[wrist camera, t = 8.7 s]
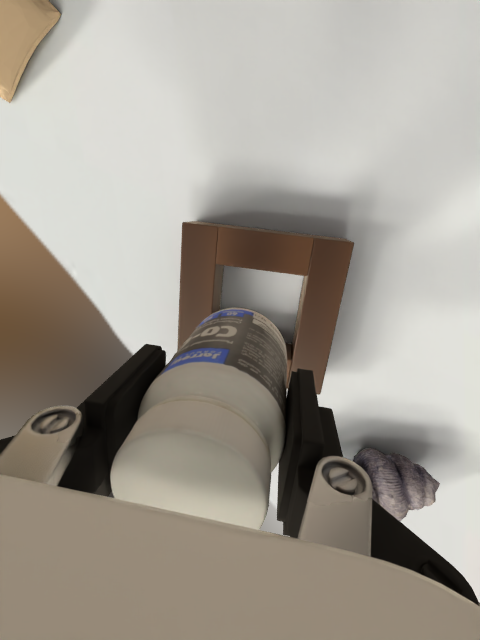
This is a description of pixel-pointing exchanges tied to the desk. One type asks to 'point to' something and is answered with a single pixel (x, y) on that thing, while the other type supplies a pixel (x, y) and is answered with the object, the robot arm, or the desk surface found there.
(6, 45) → the decorative ornament
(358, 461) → the seashell
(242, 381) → the pill bottle
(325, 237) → the holder
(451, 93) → the desk surface
